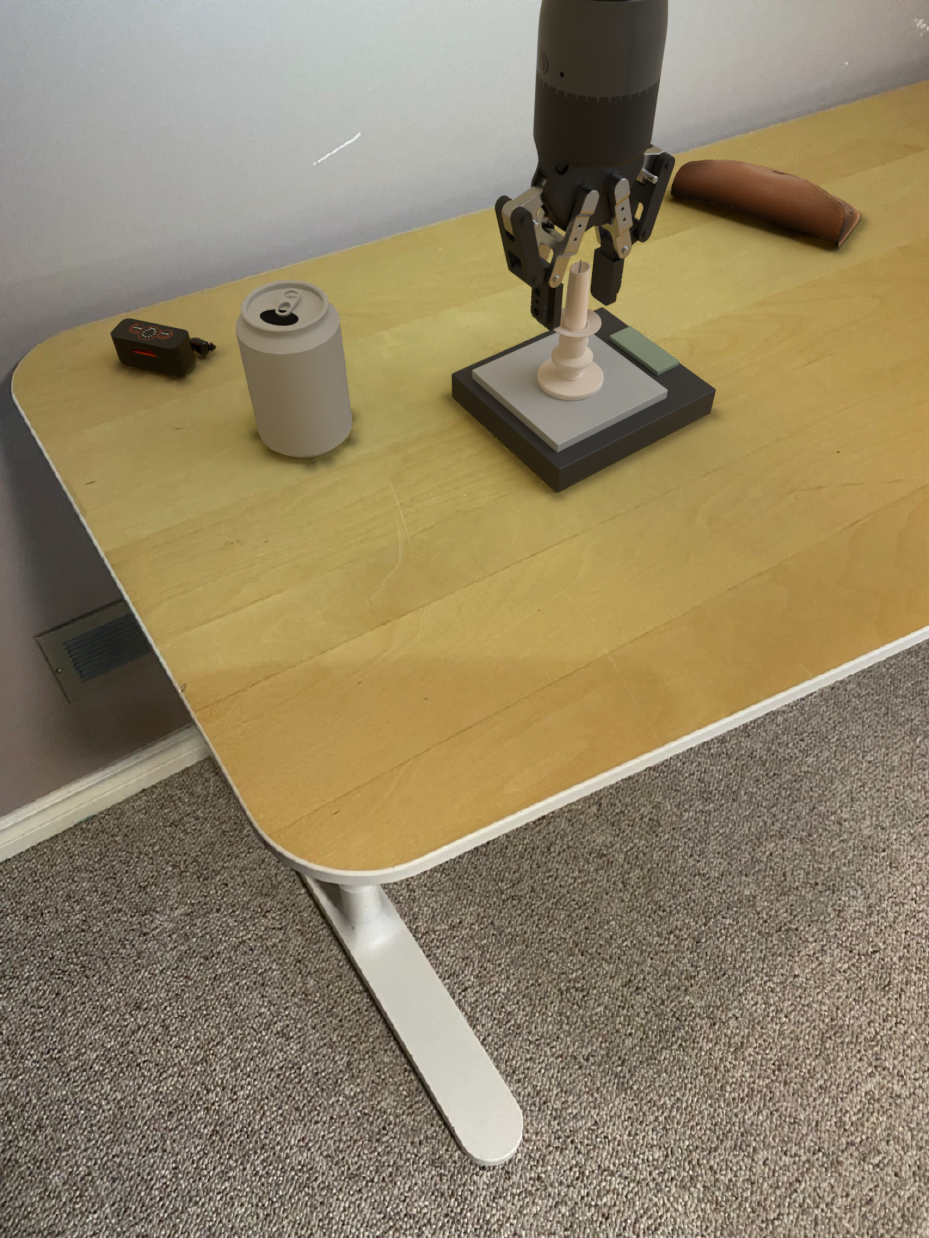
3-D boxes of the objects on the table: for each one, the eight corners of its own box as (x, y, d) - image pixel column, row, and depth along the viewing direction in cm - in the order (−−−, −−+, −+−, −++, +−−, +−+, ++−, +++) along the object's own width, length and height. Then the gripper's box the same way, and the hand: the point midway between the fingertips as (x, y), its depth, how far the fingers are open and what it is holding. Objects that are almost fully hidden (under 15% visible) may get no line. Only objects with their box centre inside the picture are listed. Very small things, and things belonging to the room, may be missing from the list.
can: (243, 452, 76) (210, 320, 66) (286, 395, 80) (261, 264, 70) (329, 474, 74) (308, 342, 64) (368, 414, 78) (354, 283, 69)
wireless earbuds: (192, 384, 81) (183, 351, 78) (118, 368, 82) (107, 335, 80) (218, 352, 84) (210, 320, 81) (146, 337, 85) (136, 304, 83)
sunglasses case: (867, 210, 96) (874, 167, 90) (835, 270, 96) (840, 232, 90) (702, 163, 103) (698, 120, 97) (672, 220, 103) (666, 181, 96)
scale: (599, 330, 85) (603, 298, 83) (711, 413, 78) (718, 381, 76) (451, 397, 80) (450, 365, 77) (557, 493, 72) (559, 461, 70)
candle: (553, 408, 74) (563, 287, 66) (526, 368, 77) (532, 248, 69) (614, 391, 75) (631, 271, 67) (585, 354, 78) (597, 234, 70)
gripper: (543, 119, 53) (529, 372, 67) (729, 55, 58) (681, 303, 72) (465, 72, 57) (466, 321, 70) (646, 16, 62) (615, 258, 75)
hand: (575, 310), depth 71 cm, fingers open, 4 cm apart
